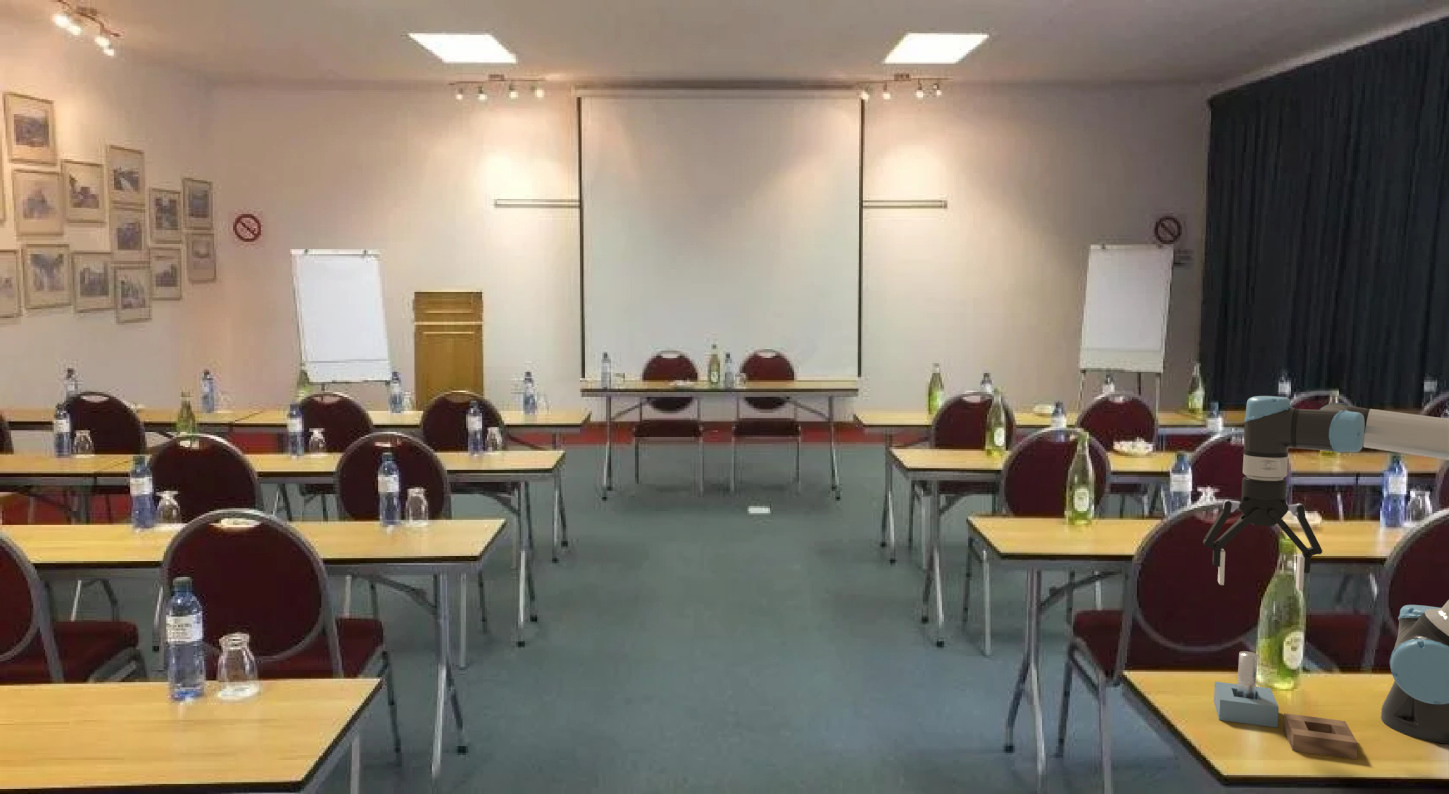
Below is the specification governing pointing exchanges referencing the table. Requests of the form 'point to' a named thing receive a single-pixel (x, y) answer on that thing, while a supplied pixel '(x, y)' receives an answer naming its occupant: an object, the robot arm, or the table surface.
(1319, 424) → the robot arm
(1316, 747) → the block
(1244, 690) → the pin
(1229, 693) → the docking socket
